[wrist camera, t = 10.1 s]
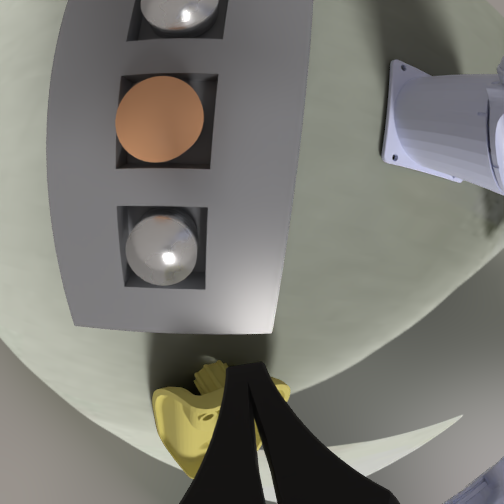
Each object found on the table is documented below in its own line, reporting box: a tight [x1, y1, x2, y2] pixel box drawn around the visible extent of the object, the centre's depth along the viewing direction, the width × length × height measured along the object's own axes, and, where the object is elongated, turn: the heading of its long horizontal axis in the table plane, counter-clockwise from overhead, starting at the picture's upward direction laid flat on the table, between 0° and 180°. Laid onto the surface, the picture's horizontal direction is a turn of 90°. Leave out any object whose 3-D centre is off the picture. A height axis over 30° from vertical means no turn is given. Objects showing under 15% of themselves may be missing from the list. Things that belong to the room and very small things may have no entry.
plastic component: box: [152, 360, 290, 479], centre depth 24 cm, size 20×7×10 cm
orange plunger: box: [115, 76, 204, 162], centre depth 12 cm, size 4×4×2 cm
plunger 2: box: [126, 206, 198, 286], centre depth 16 cm, size 4×4×2 cm
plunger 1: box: [141, 0, 219, 39], centre depth 10 cm, size 4×4×2 cm
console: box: [46, 0, 313, 334], centre depth 14 cm, size 14×26×3 cm, turn 175°
